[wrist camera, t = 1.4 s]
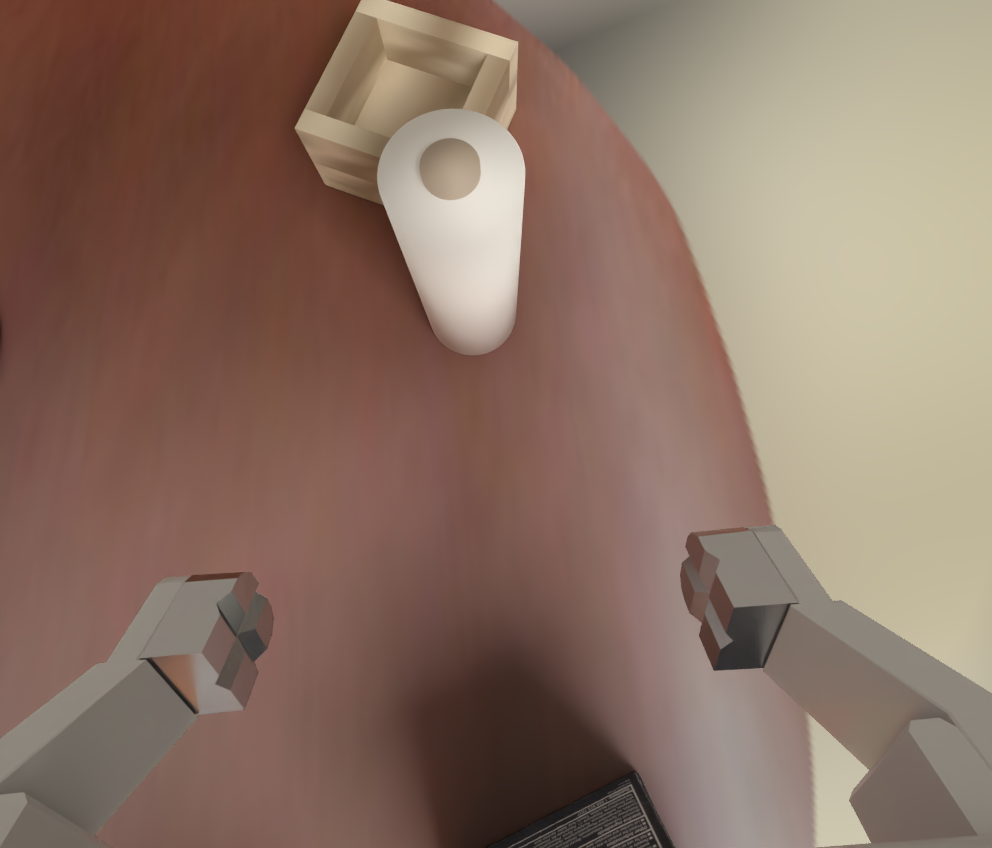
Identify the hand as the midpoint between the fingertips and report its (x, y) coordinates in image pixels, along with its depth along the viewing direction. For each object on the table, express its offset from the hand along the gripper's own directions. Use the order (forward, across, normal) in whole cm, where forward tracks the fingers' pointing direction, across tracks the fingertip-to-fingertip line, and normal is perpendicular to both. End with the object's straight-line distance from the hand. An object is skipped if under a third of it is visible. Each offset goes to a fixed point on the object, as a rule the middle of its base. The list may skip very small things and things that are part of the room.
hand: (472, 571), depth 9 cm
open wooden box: (+29, +3, -5) cm, 29 cm away
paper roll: (+21, 0, +3) cm, 21 cm away
